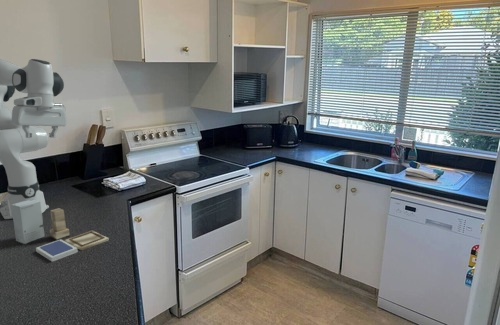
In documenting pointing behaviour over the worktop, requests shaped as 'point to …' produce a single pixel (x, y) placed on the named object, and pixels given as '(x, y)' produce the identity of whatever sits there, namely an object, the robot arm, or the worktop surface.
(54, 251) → the ink pad
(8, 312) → the worktop surface
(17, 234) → the skincare box
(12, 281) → the worktop surface
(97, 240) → the box board
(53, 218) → the stamp
